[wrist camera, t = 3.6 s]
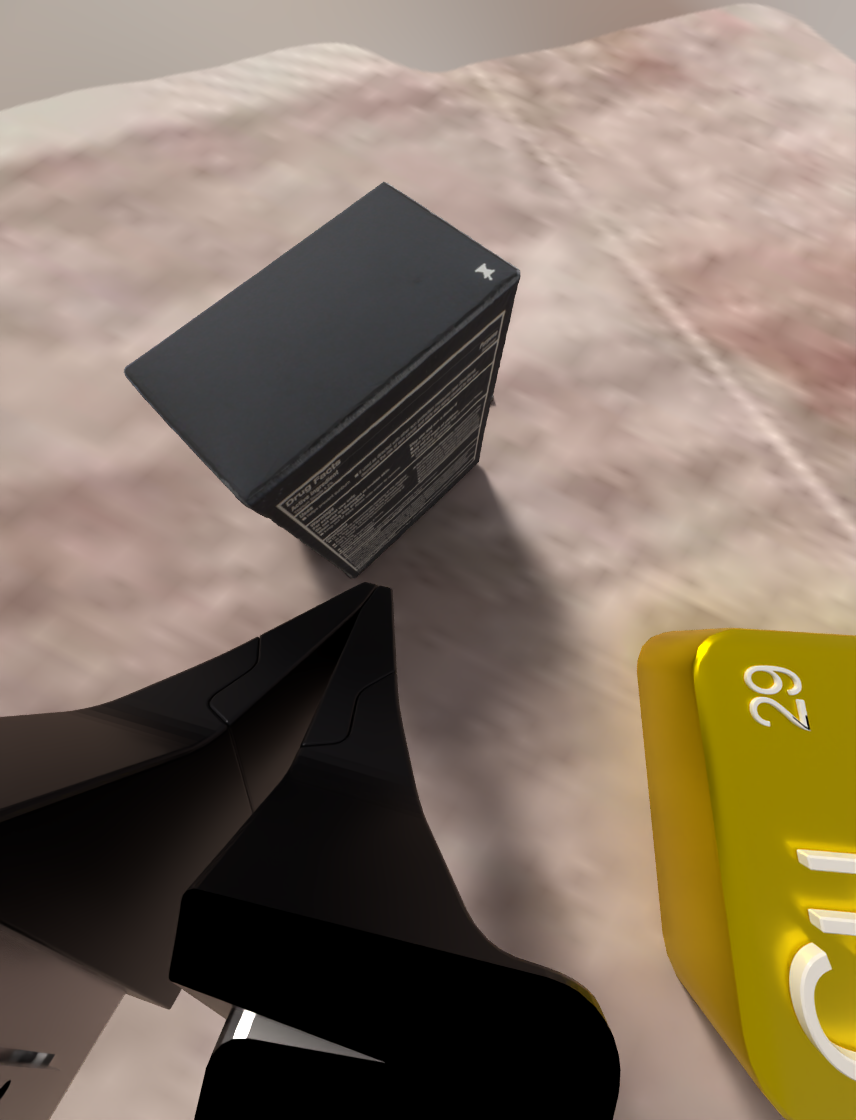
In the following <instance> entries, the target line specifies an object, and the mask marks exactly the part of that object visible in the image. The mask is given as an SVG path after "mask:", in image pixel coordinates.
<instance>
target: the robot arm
mask: <svg viewBox="0 0 856 1120" xmlns="http://www.w3.org/2000/svg"><path fill="white" fill-rule="evenodd" d="M396 673H397V668H396V649H395V630H394V610H393V591H392V589H391V588H388V587H384V586H377V585H375V584H371V583H367V582H363V583H361V584H359V585H357V586H355V587H353V588H351V589H349V590H347V591H345V592H344V593H342V594H340V595H338V596H336V597H334V598H332V599H330V600H328V601H326V602H324V603H322V604H320V605H318V606H316V607H314V608H312V609H310V610H309V611H307V612H305V613H303V614H301V615H299V616H297V617H295V618H293V619H291V620H289V621H287V622H285V623H283V624H281V625H279V626H277V627H275V628H274V629H272V630H270V631H268V632H266V633H264V634H262V635H260V638H259V637H256V638H254V639H252V640H250V641H248V642H246V643H244V644H242V645H240V646H238V647H236V648H234V649H232V650H230V651H228V652H226V653H224V654H222V655H220V656H217V657H215V658H213V659H211V660H208V661H206V662H204V663H201V664H199V665H197V666H195V667H192V668H190V669H188V670H185V671H183V672H181V673H178V674H176V675H173V676H171V677H169V678H166V679H164V680H162V681H159V682H157V683H155V684H152V685H150V686H147V687H145V688H143V689H140V690H138V691H136V692H133V693H131V694H129V695H126V696H124V697H121V698H119V699H116V700H113V701H110V702H107V703H104V704H101V705H97V706H93V707H89V708H85V709H79V710H74V711H66V712H55V713H43V714H31V715H19V716H7V717H0V1120H50V1118H51V1116H52V1115H53V1113H54V1111H55V1110H56V1108H57V1106H58V1105H59V1103H60V1101H61V1100H62V1098H63V1096H64V1095H65V1093H66V1091H67V1090H68V1088H69V1086H70V1085H71V1083H72V1081H73V1080H74V1078H75V1076H76V1075H77V1073H78V1072H79V1070H80V1068H81V1067H82V1065H83V1063H84V1062H85V1060H86V1058H87V1057H88V1055H89V1053H90V1052H91V1050H92V1048H93V1047H94V1045H95V1043H96V1042H97V1040H98V1038H99V1037H100V1035H101V1033H102V1032H103V1030H104V1028H105V1027H106V1025H107V1023H108V1022H109V1020H110V1019H111V1017H112V1015H113V1014H114V1012H115V1010H116V1009H117V1007H118V1005H119V1004H120V1002H121V1000H122V999H123V997H124V995H125V994H128V995H131V996H133V997H136V998H139V999H141V1000H144V1001H147V1002H150V1003H152V1004H155V1005H158V1006H160V1007H163V1008H166V1009H171V1007H172V1005H173V1004H174V1002H175V1000H176V998H177V997H178V995H179V993H180V991H181V989H183V990H184V991H186V992H187V993H189V994H190V995H192V996H193V997H194V998H196V999H197V1000H199V1001H200V1002H202V1003H203V1004H205V1005H206V1006H208V1007H209V1008H210V1009H212V1010H213V1011H215V1012H216V1013H218V1014H219V1015H221V1016H222V1017H224V1018H225V1019H226V1022H225V1024H224V1027H223V1029H222V1031H221V1034H220V1036H219V1039H218V1041H217V1043H216V1046H215V1048H214V1050H213V1053H212V1055H211V1058H210V1060H209V1062H208V1065H207V1067H206V1071H205V1075H204V1079H203V1084H202V1088H201V1092H200V1097H199V1101H198V1105H197V1110H196V1114H195V1118H194V1120H613V1116H614V1112H615V1108H616V1103H617V1099H618V1094H619V1086H620V1061H619V1054H618V1051H617V1047H616V1044H615V1040H614V1037H613V1035H612V1032H611V1030H610V1028H609V1026H608V1023H607V1021H606V1019H605V1017H604V1015H603V1012H602V1010H601V1008H600V1006H599V1004H598V1002H597V1000H596V999H595V997H594V996H593V995H592V994H591V992H589V991H588V990H587V989H586V988H585V987H584V986H583V985H581V984H580V983H578V982H577V981H575V980H574V979H572V978H570V977H568V976H566V975H564V974H562V973H560V972H558V971H555V970H552V969H550V968H547V967H544V966H541V965H538V964H535V963H532V962H529V961H526V960H523V959H520V958H517V957H514V956H512V955H510V954H508V953H506V952H504V951H503V950H501V949H499V948H498V947H497V946H496V945H494V944H493V943H492V942H491V941H489V940H488V939H487V938H486V937H485V936H484V934H483V933H482V932H481V931H480V930H479V929H478V927H477V926H476V925H475V923H474V922H473V920H472V918H471V916H470V915H469V913H468V911H467V909H466V907H465V905H464V903H463V900H462V898H461V896H460V894H459V891H458V889H457V887H456V885H455V883H454V880H453V878H452V876H451V874H450V872H449V869H448V867H447V865H446V863H445V860H444V858H443V856H442V854H441V852H440V849H439V847H438V845H437V843H436V841H435V838H434V836H433V834H432V832H431V829H430V827H429V825H428V823H427V821H426V818H425V815H424V813H423V810H422V806H421V803H420V800H419V796H418V792H417V788H416V784H415V780H414V775H413V771H412V766H411V761H410V757H409V752H408V747H407V743H406V738H405V733H404V729H403V723H402V718H401V712H400V706H399V696H398V685H397V674H396Z"/></svg>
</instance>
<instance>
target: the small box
mask: <svg viewBox="0 0 856 1120" xmlns="http://www.w3.org/2000/svg"><path fill="white" fill-rule="evenodd" d="M519 280H520V270H519V269H518V268H516V267H515V266H513V265H512V264H510V263H508V262H507V261H505V260H503V259H502V258H501V257H499V256H498V255H496V254H494V253H493V252H491V251H490V250H488V249H487V248H485V247H484V246H482V245H481V244H479V243H478V242H476V241H475V240H473V239H472V238H471V237H469V236H468V235H466V234H464V233H463V232H461V231H459V230H458V229H456V228H455V227H454V226H452V225H451V224H449V223H448V222H446V221H445V220H443V219H442V218H440V217H438V216H437V215H435V214H434V213H432V212H430V211H429V210H428V209H426V208H425V207H423V206H422V205H421V204H419V203H418V202H416V201H414V200H413V199H411V198H410V197H408V196H407V195H405V194H403V193H402V192H401V191H399V190H397V189H395V188H394V187H393V186H391V185H390V184H388V183H386V182H383V183H381V184H380V185H379V186H377V187H376V188H375V189H373V190H372V191H370V192H369V193H368V194H366V195H365V196H363V197H362V198H361V199H359V200H358V201H356V202H355V203H354V204H352V205H351V206H350V207H348V208H347V209H346V210H344V211H343V212H342V213H340V214H339V215H337V216H336V217H335V218H333V219H332V220H330V221H329V222H328V223H326V224H325V225H323V226H322V227H321V228H319V229H318V230H316V231H315V232H314V233H312V234H311V235H310V236H308V237H307V238H305V239H304V240H303V241H301V242H300V243H298V244H297V245H296V246H294V247H293V248H291V249H290V250H289V251H287V252H286V253H284V254H283V255H282V256H280V257H279V258H278V259H276V260H275V261H273V262H272V263H271V264H269V265H268V266H267V267H265V268H264V269H263V270H261V271H260V272H259V273H257V274H256V275H254V276H253V277H251V278H250V279H249V280H247V281H246V282H244V283H243V284H241V285H240V286H239V287H237V288H236V289H234V290H233V291H232V292H230V293H229V294H227V295H226V296H225V297H223V298H222V299H221V300H219V301H218V302H216V303H215V304H214V305H212V306H211V307H209V308H208V309H207V310H205V311H204V312H202V313H201V314H199V315H198V316H197V317H195V318H194V319H193V320H191V321H190V322H188V323H187V324H186V325H184V326H183V327H181V328H180V329H179V330H177V331H176V332H175V333H173V334H172V335H170V336H169V337H168V338H166V339H165V340H163V341H162V342H161V343H159V344H158V345H156V346H155V347H154V348H152V349H151V350H149V351H148V352H147V353H145V354H144V355H142V356H141V357H139V358H138V359H137V360H135V361H134V362H132V363H131V364H129V365H128V366H126V367H125V369H124V373H125V376H126V377H127V379H128V380H129V381H130V382H131V383H132V385H133V386H134V387H135V388H136V389H137V391H138V392H139V393H140V394H141V395H142V396H143V398H144V399H145V400H146V401H147V402H148V403H149V404H150V405H151V406H152V407H153V408H154V409H155V410H156V411H157V413H158V414H159V415H160V416H161V417H162V418H163V419H164V421H165V422H166V423H167V424H168V425H169V426H170V427H171V428H172V429H173V430H174V431H175V432H176V433H177V434H178V435H179V436H180V438H181V439H182V440H183V441H184V442H185V443H186V444H187V445H188V446H189V447H190V448H191V450H192V451H193V452H194V453H195V454H196V455H197V456H198V457H199V458H200V459H201V460H202V461H203V462H204V464H205V465H206V466H207V467H208V468H209V469H210V470H211V471H212V472H213V473H214V474H215V475H216V476H217V477H218V478H219V479H220V480H221V482H222V483H223V484H224V485H225V486H226V487H227V488H228V489H229V490H230V491H231V492H232V493H233V494H234V495H235V497H236V498H237V499H238V500H239V501H240V502H241V503H243V504H244V505H245V506H246V507H248V508H250V509H252V510H253V511H255V512H257V513H258V514H260V515H262V516H264V517H266V518H270V519H271V520H272V521H273V522H274V523H276V524H277V525H278V526H280V527H282V528H284V529H285V530H287V531H288V532H289V533H291V534H292V535H293V536H294V537H296V538H298V539H300V541H301V542H303V543H304V544H306V545H307V546H308V547H310V548H311V549H312V550H314V551H315V552H317V553H318V554H320V555H321V556H322V557H324V558H326V559H327V560H328V561H330V562H332V563H333V564H334V565H335V566H337V567H338V568H340V569H341V570H342V571H344V572H345V574H346V575H347V576H348V577H350V578H356V577H357V576H358V575H359V574H360V573H361V572H362V571H363V570H364V569H365V568H367V567H368V566H369V565H370V564H371V563H372V562H373V561H374V560H375V559H376V558H377V557H378V556H380V555H381V554H382V553H383V552H384V551H385V550H386V549H387V548H388V547H389V546H390V545H391V544H392V543H393V542H394V541H396V540H397V539H398V538H399V537H400V536H401V535H402V534H403V533H404V532H405V531H406V530H407V529H408V528H409V527H410V526H412V525H413V524H414V523H415V522H416V521H417V520H418V519H419V518H420V517H421V516H422V515H423V514H424V513H425V512H426V511H427V510H428V509H429V508H431V507H432V506H433V505H434V504H435V503H436V502H437V501H438V500H439V499H440V498H441V497H442V496H443V495H444V494H446V493H447V492H448V491H449V490H450V489H451V488H452V487H453V486H454V485H455V484H456V483H457V482H458V481H459V480H460V479H461V478H462V477H463V476H464V475H465V474H466V473H467V472H469V471H470V470H471V469H472V468H473V467H474V466H475V465H476V464H477V463H478V462H479V458H480V452H481V447H482V441H483V435H484V430H485V427H486V421H487V417H488V413H489V408H490V404H491V399H492V396H493V393H494V388H495V383H496V380H497V374H498V369H499V367H500V360H501V358H502V352H503V348H504V344H505V340H506V334H507V331H508V326H509V323H510V318H511V313H512V308H513V303H514V298H515V294H516V291H517V286H518V283H519Z"/></svg>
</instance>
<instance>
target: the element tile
mask: <svg viewBox="0 0 856 1120" xmlns="http://www.w3.org/2000/svg"><path fill="white" fill-rule="evenodd" d="M637 677H638V687H639V697H640V707H641V718H642V728H643V738H644V748H645V758H646V769H647V779H648V789H649V799H650V809H651V820H652V830H653V840H654V850H655V860H656V870H657V880H658V891H659V901H660V911H661V921H662V931H663V937H664V942H665V946H666V951H667V955H668V957H669V959H670V962H671V964H672V966H673V969H674V971H675V973H676V976H677V977H678V978H679V980H680V981H681V983H682V984H683V985H684V987H685V988H686V989H687V991H688V992H689V993H690V995H691V996H692V998H693V999H694V1000H695V1002H696V1003H697V1004H698V1006H699V1007H700V1009H701V1010H702V1011H703V1013H704V1014H705V1015H706V1017H707V1018H708V1019H709V1021H710V1022H711V1024H712V1025H713V1026H714V1028H715V1029H716V1030H717V1032H718V1033H719V1035H720V1036H721V1037H722V1039H723V1040H724V1041H725V1043H726V1044H727V1045H728V1047H729V1048H730V1050H731V1051H732V1052H733V1054H734V1055H735V1056H736V1058H737V1059H738V1061H739V1062H740V1063H741V1065H742V1066H743V1067H744V1069H745V1070H746V1072H747V1073H748V1074H749V1076H750V1077H751V1078H752V1080H753V1081H754V1082H755V1084H756V1085H757V1087H758V1088H759V1089H760V1090H761V1092H762V1093H763V1094H764V1095H765V1096H766V1098H767V1099H768V1100H769V1101H770V1103H771V1104H772V1105H773V1106H774V1107H775V1109H776V1110H777V1111H778V1112H779V1113H780V1114H781V1115H782V1116H783V1117H784V1118H785V1119H787V1120H856V636H855V635H839V634H823V633H807V632H791V631H775V630H759V629H743V628H719V629H702V630H685V631H671V632H665V633H662V634H659V635H656V636H654V637H651V638H650V639H649V640H648V641H647V642H646V643H645V644H644V645H643V646H642V649H641V652H640V655H639V658H638V664H637Z"/></svg>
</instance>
